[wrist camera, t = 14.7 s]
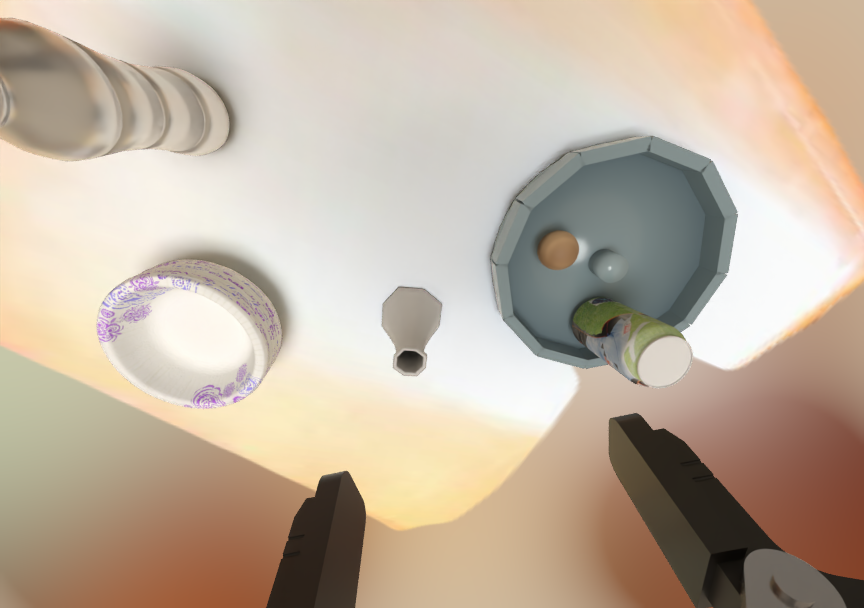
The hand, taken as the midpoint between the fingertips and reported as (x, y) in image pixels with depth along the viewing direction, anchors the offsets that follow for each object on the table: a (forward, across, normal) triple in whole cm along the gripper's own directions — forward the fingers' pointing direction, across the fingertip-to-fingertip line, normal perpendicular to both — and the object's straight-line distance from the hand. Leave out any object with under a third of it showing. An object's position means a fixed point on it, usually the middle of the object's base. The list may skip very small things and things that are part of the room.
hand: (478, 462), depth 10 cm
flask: (+29, +5, +9) cm, 31 cm away
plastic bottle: (+30, +18, -15) cm, 38 cm away
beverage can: (+28, -16, +14) cm, 35 cm away
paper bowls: (+29, +26, +4) cm, 39 cm away
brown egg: (+28, -12, +4) cm, 30 cm away
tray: (+29, -17, +8) cm, 34 cm away
